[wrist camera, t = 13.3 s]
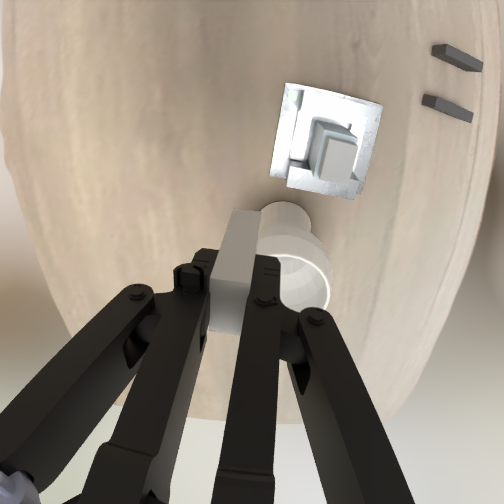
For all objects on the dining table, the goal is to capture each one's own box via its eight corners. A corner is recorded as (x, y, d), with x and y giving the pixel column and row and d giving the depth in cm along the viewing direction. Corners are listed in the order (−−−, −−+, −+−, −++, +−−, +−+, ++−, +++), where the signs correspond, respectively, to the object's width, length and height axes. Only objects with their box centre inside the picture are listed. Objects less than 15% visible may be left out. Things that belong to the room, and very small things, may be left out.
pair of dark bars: (432, 45, 29) (446, 44, 25) (467, 62, 29) (483, 62, 25) (421, 104, 33) (434, 107, 30) (456, 118, 33) (471, 123, 30)
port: (285, 82, 34) (286, 82, 30) (382, 105, 34) (395, 109, 30) (269, 174, 40) (267, 187, 36) (359, 193, 40) (368, 207, 36)
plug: (316, 119, 36) (327, 132, 27) (344, 126, 36) (363, 142, 27) (307, 158, 38) (315, 183, 30) (334, 164, 38) (349, 191, 30)
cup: (287, 174, 40) (289, 225, 27) (337, 232, 43) (356, 302, 30) (227, 223, 44) (203, 289, 31) (277, 273, 48) (274, 349, 35)
